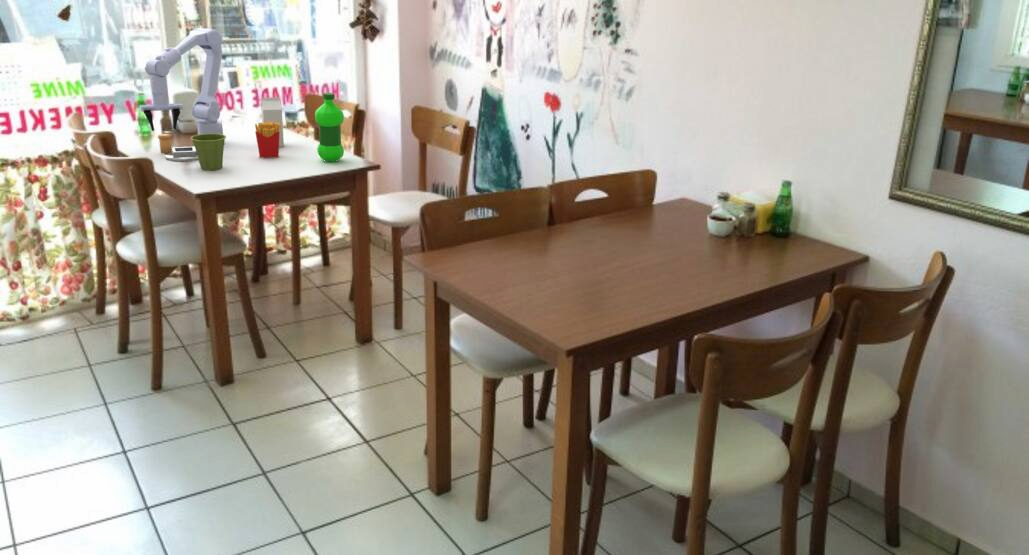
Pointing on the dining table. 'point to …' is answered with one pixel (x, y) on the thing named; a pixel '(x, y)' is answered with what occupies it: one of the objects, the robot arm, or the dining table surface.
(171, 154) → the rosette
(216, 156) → the plant pot
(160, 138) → the pin
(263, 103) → the milk carton
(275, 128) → the french fries
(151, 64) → the robot arm
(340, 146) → the plastic bottle
